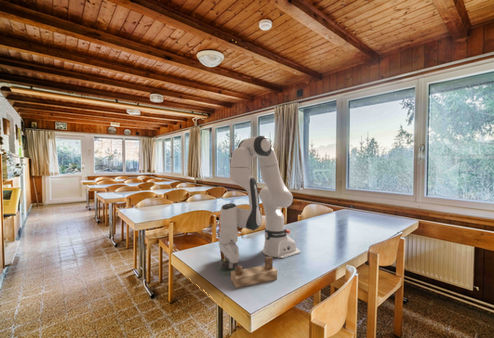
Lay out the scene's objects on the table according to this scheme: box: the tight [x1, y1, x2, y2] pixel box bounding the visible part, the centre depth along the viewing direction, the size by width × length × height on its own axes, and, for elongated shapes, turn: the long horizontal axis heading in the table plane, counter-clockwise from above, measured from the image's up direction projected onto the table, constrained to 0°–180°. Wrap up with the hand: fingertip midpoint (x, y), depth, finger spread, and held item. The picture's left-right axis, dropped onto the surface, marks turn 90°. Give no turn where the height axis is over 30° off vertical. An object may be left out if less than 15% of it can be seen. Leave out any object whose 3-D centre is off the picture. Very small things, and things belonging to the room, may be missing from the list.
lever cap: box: [218, 258, 238, 269], centre depth 113 cm, size 8×4×4 cm, turn 113°
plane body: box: [229, 256, 278, 289], centre depth 105 cm, size 21×7×9 cm, turn 113°
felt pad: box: [217, 266, 235, 276], centre depth 114 cm, size 8×8×1 cm
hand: (228, 265), depth 114 cm, fingers closed on lever cap, 4 cm apart
